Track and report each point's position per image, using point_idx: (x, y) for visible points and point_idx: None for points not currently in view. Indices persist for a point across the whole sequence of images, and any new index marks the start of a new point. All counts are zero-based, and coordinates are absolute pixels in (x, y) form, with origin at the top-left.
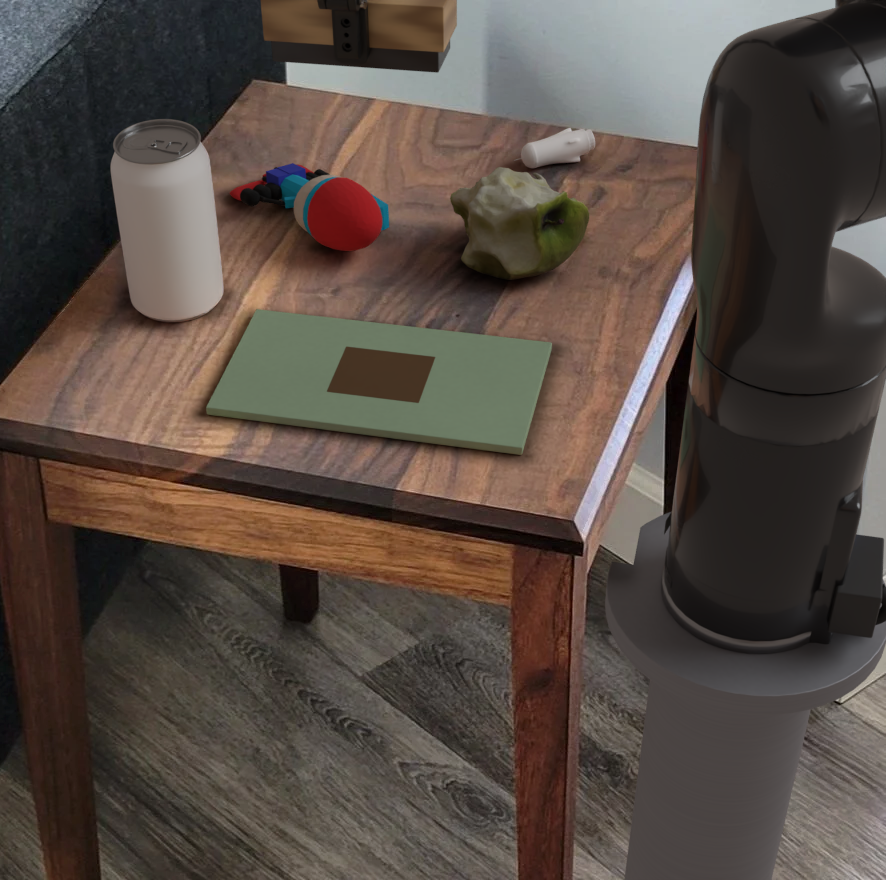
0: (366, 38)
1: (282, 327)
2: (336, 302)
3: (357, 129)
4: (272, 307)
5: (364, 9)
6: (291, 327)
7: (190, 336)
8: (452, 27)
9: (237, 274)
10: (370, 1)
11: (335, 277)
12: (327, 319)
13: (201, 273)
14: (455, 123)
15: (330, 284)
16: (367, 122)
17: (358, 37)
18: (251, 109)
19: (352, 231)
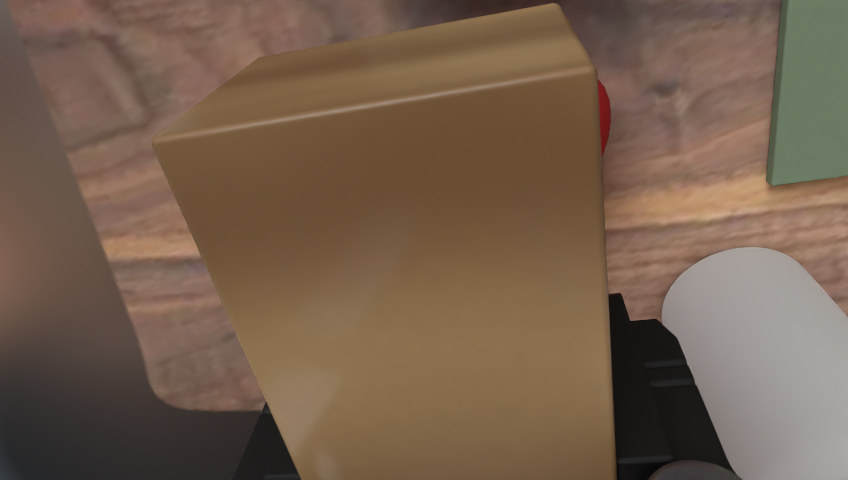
0: (636, 350)
1: (826, 123)
2: (699, 73)
3: (179, 253)
4: (733, 168)
5: (673, 460)
6: (826, 108)
7: (834, 248)
8: (347, 48)
9: (647, 253)
10: (597, 464)
11: (619, 108)
12: (792, 58)
13: (820, 294)
14: (63, 113)
15: (643, 107)
16: (151, 247)
17: (673, 379)
18: (216, 397)
19: (610, 110)
